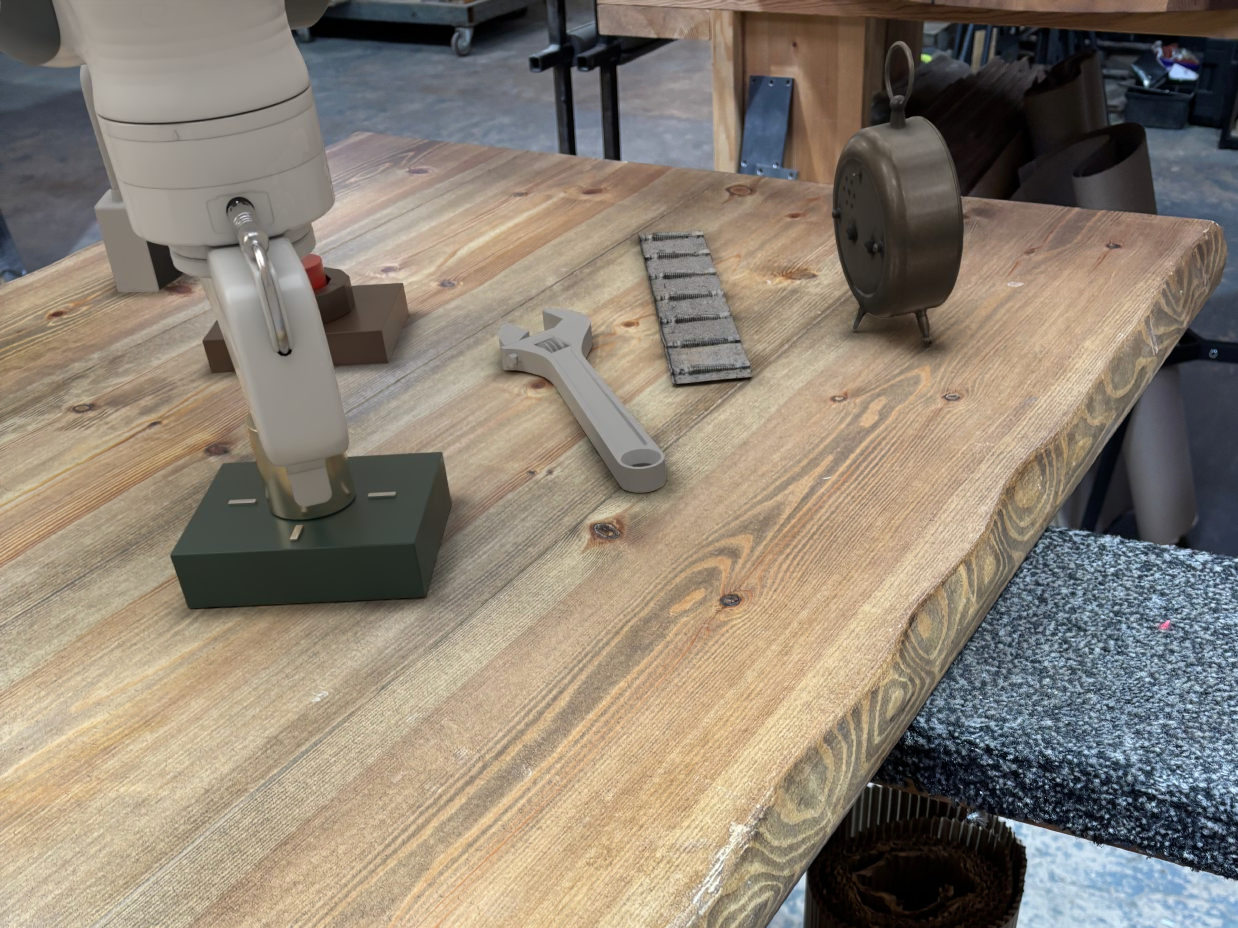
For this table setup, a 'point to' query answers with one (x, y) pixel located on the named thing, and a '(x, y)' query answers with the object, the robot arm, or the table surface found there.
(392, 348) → the button box
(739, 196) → the table surface
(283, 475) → the knob
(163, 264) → the padlock
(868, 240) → the alarm clock
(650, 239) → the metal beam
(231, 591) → the panel
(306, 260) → the button
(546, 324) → the adjustable wrench
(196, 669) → the table surface
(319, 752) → the table surface
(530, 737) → the table surface
